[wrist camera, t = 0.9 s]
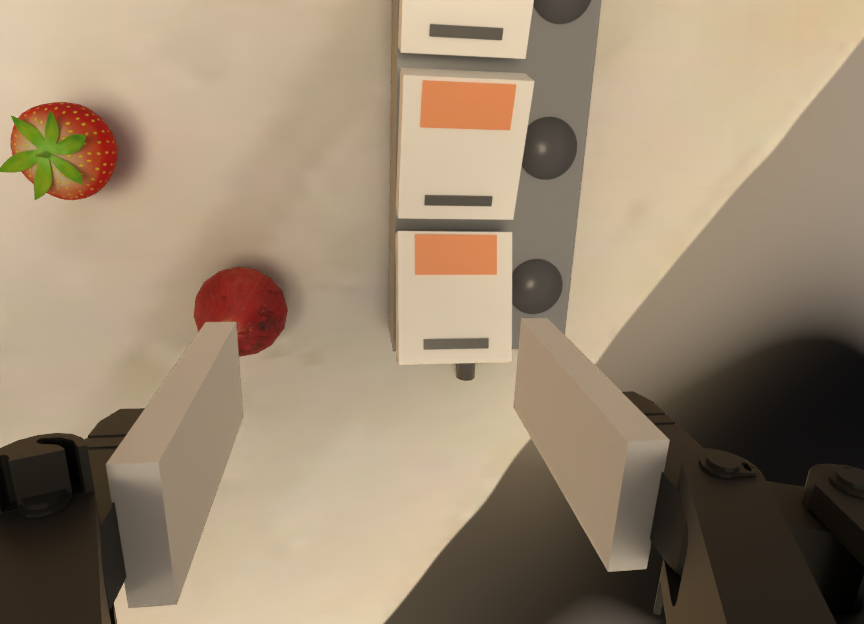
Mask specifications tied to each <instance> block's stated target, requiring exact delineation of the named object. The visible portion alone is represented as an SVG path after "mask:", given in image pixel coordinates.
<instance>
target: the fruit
mask: <svg viewBox="0 0 864 624" xmlns="http://www.w3.org/2000/svg"><path fill="white" fill-rule="evenodd" d="M11 117H12V119H13V121H14V124H15V125H14V127H13V130H12V135H11V150H12V154H13V156H12V157H10V158H9V159H8V160H7V161H6V162H5V163H4V164H3V165H2V166H1V168H0V172H20V171H21V172H22V173H23V174H24V175H25V176H26V178H27V179H28V180H29V181H31V182H32V183H33V184H34V191H35V200H36V199H38V198H39V197H41V196H43V195H44V194H45V193H48V194H50V195H52V196H55V197H57V198H60V199H66V200H77V199H82V198H87V197H89V196H91V195H93V194H95V193H97V192H98V191H100V190H101V189H102V188H103V187H104V186H105V185H106V183H107V182H108V181H109V179H110V177H111V176H112V174H113V171H114V169H115V166H116V161H117V145H116V141H115V138H114V136H113V133H112V132H111V130H110V129H109V127H108V126H107V124H106V123H105V122H104V121H103V120H102V119H101V117H99V116H98V115H97V114H96V113H94V112H93V111H92V110H90V109H88V108H86V107H84V106H81V105H78V104H72V103H67V102H55V103H48V104H42V105H39V106H36V107H33V108H31V109H29V110H27V111H26V112H24V113H22V114H21V115H20V117H19V118H16V117H14V116H11Z"/></svg>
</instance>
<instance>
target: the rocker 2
mask: <svg viewBox="0 0 864 624" xmlns="http://www.w3.org/2000/svg"><path fill="white" fill-rule="evenodd" d="M534 82H535V81H534V80H533V79H531V78H530V77H529V76H528V75H527V74H525V73H508V72H487V71H466V70H445V69H424V68H403V67H401V71H400V99H399V127H398V156H397V184H396V209H397V215H398V218H408V219H494V220H513V218H514V212H515V205H516V199H517V192H518V186H519V179H520V173H521V166H522V160H523V153H524V147H525V140H526V134H527V127H528V121H529V114H530V108H531V101H532V95H533V88H534Z"/></svg>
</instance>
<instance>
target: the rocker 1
mask: <svg viewBox="0 0 864 624" xmlns="http://www.w3.org/2000/svg"><path fill="white" fill-rule="evenodd" d="M533 3H534V0H399V29H398V48H399V50H400V52H401V53H418V54H438V55H458V56H477V57H497V58H517V59H526V52H527V45H528V38H529V31H530V24H531V17H532V10H533Z"/></svg>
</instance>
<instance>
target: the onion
mask: <svg viewBox="0 0 864 624" xmlns="http://www.w3.org/2000/svg"><path fill="white" fill-rule="evenodd" d="M286 316H287V306H286V302H285V299H284V296H283V293H282V290H281V289H280V288H279V287H278V286H277V285H276V284H275V283H274V282H273V280H272V279H271V278H269V277H268V276H266V275H264V274H262V273H260V272H259V271H257V270H254V269H248V268H242V267H237V268H232V269H227V270H222V271H220V272H218V273H216V274H215V275H214V276H212V277H211V278H209V279H208V280H206V281H205V282H204V284H203V285H202V287H201V289H200V291H199V292H198V294H197V296H196V300H195V309H194V318H195V321H196V325H197V328H198V331H200V329H201V328H202V327H203V325H204V324H205V322H236V325H237V339H238V352H239V356H245V355H251V354H256V353H258V352H260V351H262V350H264V349H265V348H267V347H269V346H271V345H272V344H273V342H274V341H275V340H276V338H277V337H278V336H279V334H280V333H281V332H282V330H283V329H284V327H285V322H286Z"/></svg>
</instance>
